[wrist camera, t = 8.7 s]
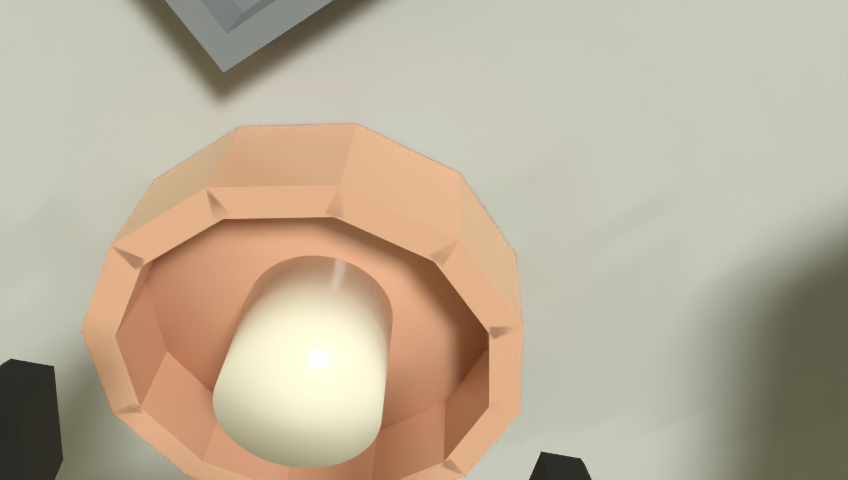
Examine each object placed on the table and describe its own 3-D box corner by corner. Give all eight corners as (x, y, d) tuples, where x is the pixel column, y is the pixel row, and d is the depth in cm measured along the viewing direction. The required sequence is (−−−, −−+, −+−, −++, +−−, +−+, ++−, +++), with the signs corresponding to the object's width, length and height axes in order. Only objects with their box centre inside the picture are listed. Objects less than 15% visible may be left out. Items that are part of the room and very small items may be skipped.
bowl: (580, 349, 22) (595, 426, 20) (292, 470, 26) (274, 548, 23) (371, 44, 17) (356, 96, 15) (50, 245, 21) (-5, 314, 18)
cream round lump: (421, 330, 21) (415, 428, 18) (312, 387, 23) (290, 488, 20) (330, 230, 19) (306, 321, 16) (217, 299, 21) (177, 394, 18)
